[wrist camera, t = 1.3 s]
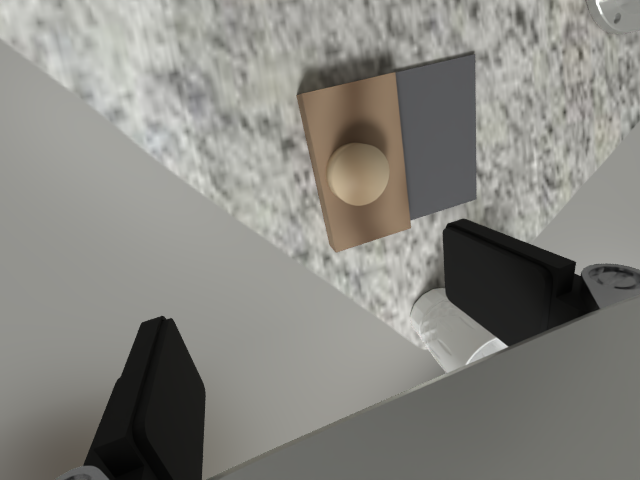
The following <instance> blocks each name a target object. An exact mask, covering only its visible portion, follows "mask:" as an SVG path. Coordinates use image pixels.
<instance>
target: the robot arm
mask: <svg viewBox="0 0 640 480" xmlns="http://www.w3.org/2000/svg"><path fill="white" fill-rule="evenodd" d="M586 2H587V6H588V9H589V12H590V14H591V16H592V17H593V19H594V21H595V22H596V23H597V25H598V26H599V27H600V28H601V29H603V30H605V31H606V32H608V33H611V34H616V35H619V34H627V33H631V32H635V31H639V30H640V0H586ZM443 250H444V273H445V293H446V296H447V298H448V300H449V301H450V302H451V303H452V304H454V305H455V306H456V307H458V308H459V309H460V310H461V311H463V312H464V313H465V314H467V315H468V316H469V317H471V318H472V319H473V320H474V321H476V322H477V323H478V324H480V325H481V326H482V327H484V328H485V329H486V330H487V331H489V332H490V333H491V334H493V335H494V336H495V337H496V338H498V339H499V340H500V341H502V342H503V343H504V344H506V345H507V346H508V347H507V348H504V349H502V350H500V351H497V352H495V353H493V354H490V355H488V356H486V357H483V358H481V359H479V360H476V361H474V362H472V363H469V364H467V365H465V366H462V367H460V368H458V369H455V370H453V371H451V372H448V373H446V374H444V375H442V376H439V377H437V378H434V379H432V380H430V381H427V382H425V383H423V384H420V385H418V386H416V387H414V388H411V389H409V390H407V391H404V392H402V393H400V394H397V395H395V396H393V397H390V398H388V399H386V400H384V401H381V402H379V403H377V404H374V405H372V406H370V407H368V408H365V409H363V410H361V411H358V412H356V413H354V414H351V415H349V416H347V417H345V418H342V419H340V420H338V421H336V422H333V423H331V424H329V425H327V426H324V427H322V428H320V429H317V430H315V431H313V432H311V433H308V434H306V435H304V436H301V437H299V438H297V439H294V440H292V441H290V442H288V443H285V444H283V445H281V446H279V447H276V448H274V449H272V450H270V451H267V452H265V453H263V454H261V455H258V456H256V457H254V458H252V459H250V460H248V461H245V462H243V463H241V464H239V465H236V466H234V467H232V468H230V469H228V470H226V471H223V472H221V473H219V474H217V475H215V476H213V477H211V478H209V479H206V480H640V270H639V269H635V268H632V267H629V266H624V265H618V264H595V265H590V266H588V267H586V268H584V269H583V271H582V272H581V276H579V275H577V274H574V272H575V265H576V262H574V261H572V260H570V259H567V258H564V257H562V256H559V255H557V254H554V253H552V252H549V251H546V250H544V249H541V248H538V247H536V246H534V245H531V244H528V243H526V242H523V241H521V240H518V239H515V238H513V237H510V236H508V235H505V234H503V233H500V232H497V231H495V230H492V229H490V228H487V227H485V226H482V225H479V224H477V223H474V222H472V221H469V220H467V219H460V220H457V221H454V222H451V223H448V224H447V226H446V229H444V230H443ZM205 397H206V396H205V388H204V384H203V382H202V379H201V377H200V375H199V373H198V371H197V369H196V367H195V365H194V363H193V360H192V358H191V356H190V354H189V352H188V350H187V348H186V346H185V344H184V341H183V339H182V337H181V335H180V333H179V331H178V329H177V326H176V324H175V322H174V321H173V319H172V318H170V319H167V320H166V318H165V317H164V316H161V317H157V318H154V319H151V320H148V321H145V322H142V323H141V325H140V328H139V330H138V333H137V336H136V338H135V341H134V344H133V346H132V349H131V351H130V354H129V357H128V359H127V362H126V364H125V367H124V370H123V372H122V375H121V377H120V378H119V379H118V380H117V382H116V383H115V386H114V388H113V391H112V394H111V396H110V399H109V401H108V404H107V406H106V409H105V411H104V414H103V416H102V419H101V422H100V424H99V427H98V429H97V432H96V435H95V437H94V439H93V442H92V445H91V447H90V450H89V452H88V455H87V457H86V460H85V462H84V465H83V466H81V467H79V468H75V469H72V470H70V471H68V472H67V473H65V474H63V475H61V476H60V477H58V478H56V479H55V480H202V463H203V439H204V418H205Z"/></svg>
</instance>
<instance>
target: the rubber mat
mask: <svg viewBox="0 0 640 480" xmlns="http://www.w3.org/2000/svg"><path fill="white" fill-rule="evenodd" d="M395 75H396V85H397V95H398V105H399V115H400V124H401V134H402V144H403V154H404V164H405V174H406V184H407V193H408V203H409V213H410V220H413V219H416V218H419V217H423V216H426V215H429V214H432V213H435V212H438V211H441V210H444V209H447V208H451V207H454V206H457V205H460V204H463V203H466V202H469V201H472V200H475V199H476V99H475V54H474V55H469V56H465V57H461V58H456V59H452V60H448V61H443V62H439V63H435V64H430V65H426V66H421V67H417V68H413V69H408V70H404V71H400V72H395Z"/></svg>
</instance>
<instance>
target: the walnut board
mask: <svg viewBox="0 0 640 480" xmlns="http://www.w3.org/2000/svg"><path fill="white" fill-rule="evenodd" d="M297 100H298V104H299V109H300V113H301V118H302V122H303V127H304V131H305V136H306V141H307V145H308V150H309V154H310V159H311V163H312V168H313V172H314V177H315V181H316V186H317V190H318V195H319V199H320V204H321V208H322V213H323V217H324V222H325V226H326V231H327V235H328V240H329V244H330V246H331V247H332V248H333V250H334V251H335V252H339V251H342V250H345V249H348V248H351V247H355V246H358V245H361V244H364V243H367V242H370V241H373V240H376V239H379V238H382V237H385V236H388V235H391V234H394V233H397V232H401V231H404V230H407V229H410V228H411V223H410V213H409V203H408V193H407V184H406V174H405V164H404V154H403V144H402V134H401V124H400V115H399V105H398V95H397V85H396V75H395V72H394V73H389V74H385V75H381V76H376V77H372V78H368V79H363V80H359V81H355V82H350V83H346V84H342V85H337V86H333V87H328V88H324V89H320V90H315V91H311V92H307V93H302V94H299V95H297ZM347 143H362V144H368V145H372V146H374V147H376V148H378V149H379V150H380V151H381V152H382V153H383V154H384V155H385V157H386V159H387V161H388V164H389V180H388V183H387V186H386V188H385V190H384V191H383V193H382V194H381V195H380V196H379V197H378V198H377V199H376V200H374V201H373V202H371V203H369V204H366V205H361V206H355V205H351V204H348V203H346V202H344V201H343V200H342V199H340V198H339V197H337V196H336V195H335V194H334V193H332V191H331V190H330V188H329V187H328V184H327V181H326V166H327V163H328V160H329V158H330V157H331V155H332V154H333V153H334V151H335V150H337V149H338V148H339V147H341V146H342V145H344V144H347Z"/></svg>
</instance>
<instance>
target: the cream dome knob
mask: <svg viewBox="0 0 640 480" xmlns="http://www.w3.org/2000/svg"><path fill="white" fill-rule="evenodd" d="M388 180H389V164H388V161H387V159H386V157H385V155H384V154H383V153H382V152H381V151H380V150H379V149H378V148H376V147H374V146H372V145H368V144H362V143H347V144H344V145H342V146H341V147H339V148H338V149H337V150H335V151H334V153H333V154H332V155H331V157H330V158H329V160H328V163H327V166H326V181H327V184H328V187H329V188H330V190H331V191H332V193H334V194H335V195H336V196H337V197H339V198H340V199H342V200H343V201H344V202H346V203H348V204H351V205H355V206H361V205H366V204H369V203H371V202H373V201H374V200H376V199H377V198H378V197H379V196H380V195H381V194H382V193H383V191H384V190H385V188H386V186H387V183H388Z"/></svg>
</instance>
